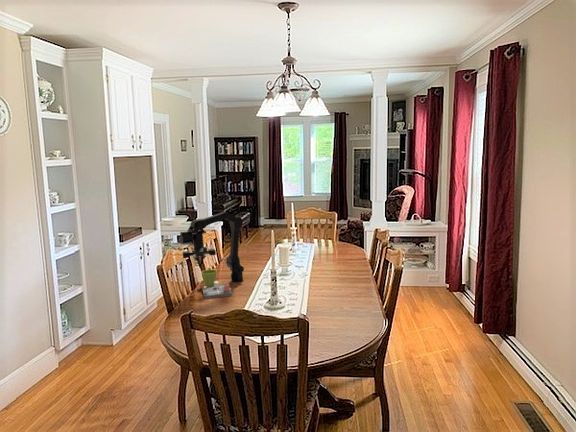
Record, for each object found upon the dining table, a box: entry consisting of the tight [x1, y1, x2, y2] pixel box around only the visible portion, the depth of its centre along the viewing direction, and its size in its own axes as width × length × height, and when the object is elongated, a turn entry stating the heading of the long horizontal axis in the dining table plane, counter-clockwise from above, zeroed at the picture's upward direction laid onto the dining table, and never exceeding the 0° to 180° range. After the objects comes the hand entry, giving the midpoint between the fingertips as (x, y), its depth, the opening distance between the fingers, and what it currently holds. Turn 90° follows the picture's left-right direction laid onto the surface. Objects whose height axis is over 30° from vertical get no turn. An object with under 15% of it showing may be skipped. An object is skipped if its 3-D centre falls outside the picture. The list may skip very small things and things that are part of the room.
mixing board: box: [201, 283, 233, 300], centre depth 257 cm, size 15×18×3 cm
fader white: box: [214, 280, 220, 288], centre depth 261 cm, size 2×4×3 cm, turn 14°
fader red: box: [224, 283, 230, 292], centre depth 254 cm, size 2×4×3 cm, turn 14°
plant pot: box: [200, 269, 218, 286], centre depth 271 cm, size 9×9×9 cm
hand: (200, 267), depth 265 cm, fingers closed
